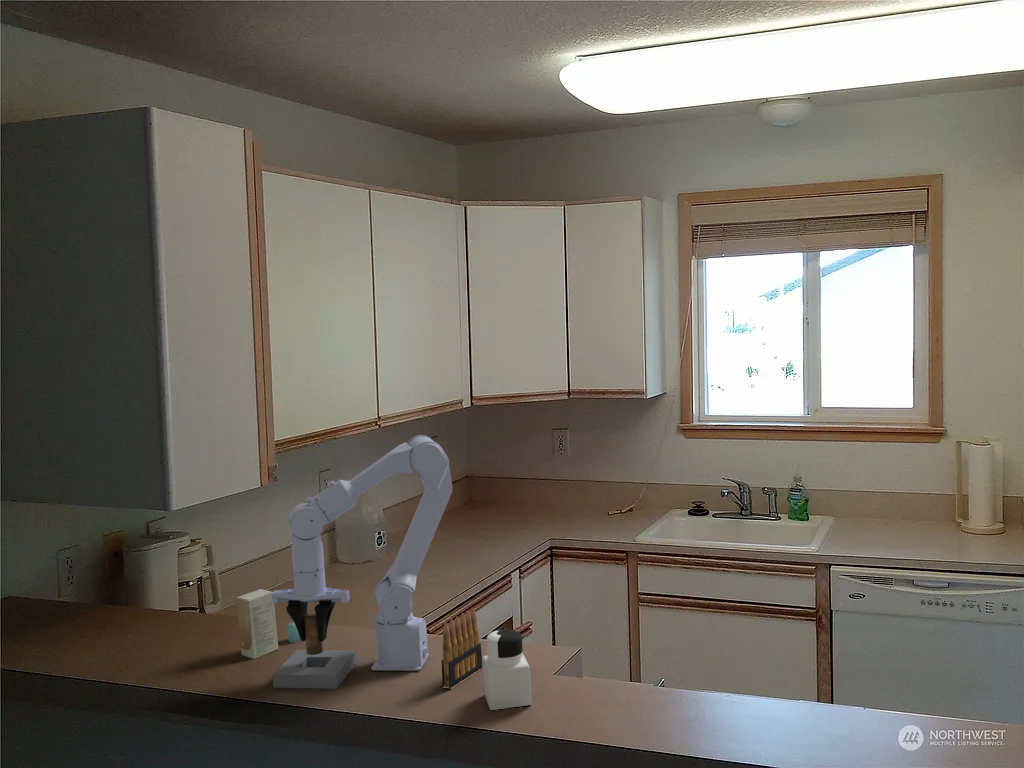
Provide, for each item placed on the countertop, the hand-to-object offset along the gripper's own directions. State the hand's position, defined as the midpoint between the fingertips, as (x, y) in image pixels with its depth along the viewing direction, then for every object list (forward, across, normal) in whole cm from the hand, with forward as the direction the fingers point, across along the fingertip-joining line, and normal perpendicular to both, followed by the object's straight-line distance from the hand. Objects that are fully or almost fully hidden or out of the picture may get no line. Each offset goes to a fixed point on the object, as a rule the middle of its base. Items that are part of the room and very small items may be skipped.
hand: (313, 639), depth 179 cm
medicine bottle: (+7, -38, +10) cm, 40 cm away
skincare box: (+7, +16, -11) cm, 21 cm away
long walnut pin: (+2, 0, 0) cm, 2 cm away
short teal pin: (+7, +11, -18) cm, 22 cm away
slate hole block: (+7, 0, 0) cm, 7 cm away
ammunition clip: (+7, -28, +1) cm, 29 cm away
